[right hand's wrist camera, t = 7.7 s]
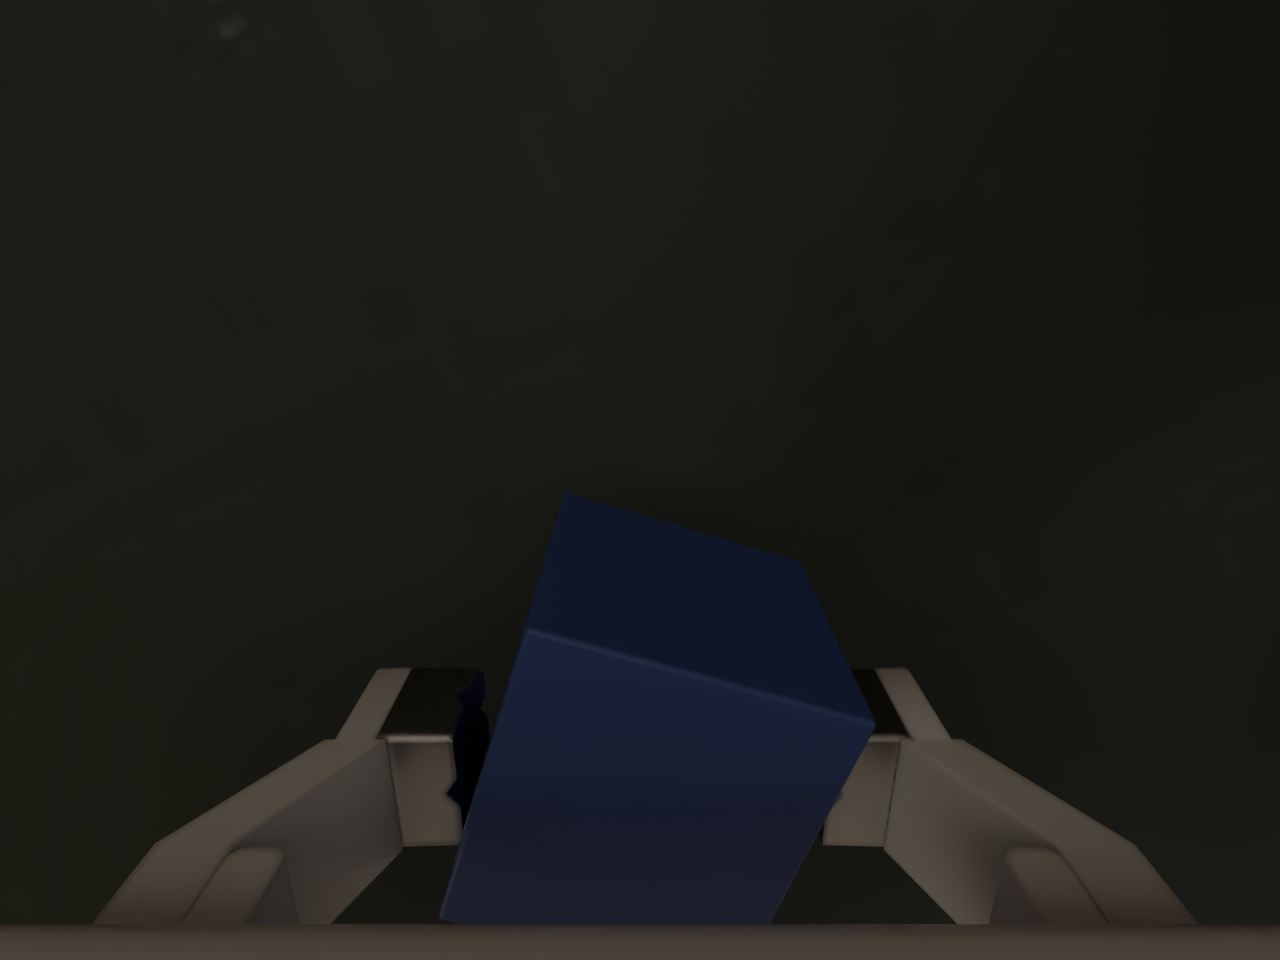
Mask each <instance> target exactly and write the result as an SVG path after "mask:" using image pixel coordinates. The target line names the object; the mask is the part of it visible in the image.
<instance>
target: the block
mask: <svg viewBox="0 0 1280 960" xmlns="http://www.w3.org/2000/svg"><path fill="white" fill-rule="evenodd" d="M874 729H875V719H874V717H873V715H872V713H871V711H870V709H869V707H868V705H867V703H866V700H865V698H864V696H863V694H862V692H861V690H860V688H859V686H858V684H857V682H856V679H855V677H854V675H853V673H852V671H851V669H850V667H849V665H848V663H847V660H846V658H845V656H844V654H843V652H842V650H841V648H840V646H839V644H838V641H837V639H836V637H835V635H834V633H833V631H832V629H831V627H830V625H829V622H828V620H827V618H826V616H825V614H824V612H823V610H822V608H821V606H820V603H819V601H818V599H817V597H816V595H815V593H814V591H813V589H812V587H811V584H810V582H809V580H808V578H807V576H806V574H805V572H804V570H803V568H802V565H801V563H800V562H798V561H796V560H793V559H790V558H786V557H783V556H779V555H776V554H773V553H769V552H766V551H762V550H759V549H756V548H752V547H749V546H746V545H742V544H739V543H735V542H732V541H729V540H725V539H722V538H719V537H715V536H712V535H708V534H705V533H702V532H698V531H695V530H691V529H688V528H685V527H681V526H678V525H675V524H671V523H668V522H664V521H661V520H658V519H654V518H651V517H647V516H644V515H641V514H637V513H634V512H631V511H627V510H624V509H620V508H617V507H614V506H610V505H607V504H603V503H600V502H597V501H593V500H590V499H587V498H583V497H580V496H576V495H573V494H570V493H565V494H564V496H563V498H562V501H561V505H560V508H559V511H558V514H557V518H556V521H555V524H554V528H553V531H552V534H551V538H550V541H549V544H548V547H547V551H546V554H545V557H544V561H543V564H542V567H541V571H540V574H539V577H538V580H537V584H536V587H535V590H534V594H533V597H532V600H531V604H530V607H529V610H528V613H527V617H526V620H525V623H524V627H523V630H522V633H521V637H520V640H519V643H518V646H517V650H516V653H515V656H514V660H513V663H512V666H511V670H510V673H509V676H508V679H507V683H506V686H505V689H504V693H503V696H502V699H501V703H500V706H499V709H498V713H497V716H496V719H495V723H494V726H493V730H492V733H491V736H490V740H489V744H488V748H487V751H486V754H485V758H484V761H483V765H482V768H481V771H480V775H479V778H478V781H477V785H476V788H475V791H474V795H473V799H472V802H471V806H470V809H469V812H468V816H467V819H466V823H465V826H464V829H463V833H462V836H461V839H460V843H459V845H458V848H457V852H456V855H455V858H454V862H453V865H452V869H451V872H450V875H449V879H448V882H447V886H446V889H445V892H444V896H443V899H442V903H441V906H440V909H439V916H440V918H441V919H443V920H447V921H451V922H456V923H460V924H770V922H771V920H772V918H773V917H774V915H775V913H776V911H777V909H778V907H779V905H780V904H781V902H782V900H783V898H784V896H785V894H786V892H787V891H788V889H789V887H790V885H791V883H792V881H793V879H794V878H795V876H796V874H797V872H798V870H799V868H800V866H801V865H802V863H803V861H804V859H805V857H806V855H807V853H808V852H809V850H810V848H811V846H812V844H813V842H814V840H815V839H816V837H817V835H818V833H819V831H820V829H821V827H822V826H823V824H824V822H825V820H826V818H827V816H828V814H829V813H830V811H831V809H832V807H833V805H834V803H835V801H836V800H837V798H838V796H839V794H840V792H841V790H842V788H843V787H844V785H845V783H846V781H847V779H848V777H849V775H850V774H851V772H852V770H853V768H854V766H855V764H856V762H857V761H858V759H859V757H860V755H861V753H862V751H863V749H864V748H865V746H866V744H867V742H868V740H869V738H870V736H871V735H872V733H873V731H874Z"/></svg>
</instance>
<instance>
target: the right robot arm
mask: <svg viewBox="0 0 1280 960" xmlns="http://www.w3.org/2000/svg"><path fill="white" fill-rule="evenodd" d="M851 671H852V673H853V675H854V677H855V679H856V682H857V684H858V686H859V688H860V690H861V692H862V694H863V696H864V698H865V700H866V703H867V705H868V707H869V709H870V711H871V713H872V715H873V717H874V719H875V729H874V731H873V733H872V735H871V736H870V738H869V740H868V742H867V744H866V746H865V748H864V749H863V751H862V753H861V755H860V757H859V759H858V761H857V762H856V764H855V766H854V768H853V770H852V772H851V774H850V775H849V777H848V779H847V781H846V783H845V785H844V787H843V788H842V790H841V792H840V794H839V796H838V798H837V800H836V801H835V803H834V805H833V807H832V809H831V811H830V813H829V814H828V816H827V818H826V820H825V822H824V824H823V826H822V827H821V829H820V831H819V835H820V838H821V842H822V845H844V846H879V847H884V850H885V851H886V852H887V853H888V854H889V855H890V856H891V857H892V858H893V859H894V860H895V861H896V862H897V863H898V864H899V865H900V866H901V867H902V868H903V869H904V870H905V871H906V872H907V874H908V875H909V876H910V877H911V878H912V879H913V880H914V881H915V882H916V883H917V884H918V885H919V886H920V887H921V888H922V889H923V890H924V891H925V892H926V893H927V894H928V895H929V896H930V897H931V898H932V899H933V900H934V901H935V902H936V903H937V904H938V905H939V906H940V907H941V908H942V909H943V910H944V911H945V912H946V913H947V914H948V915H949V916H950V917H951V918H952V919H953V920H954V921H955V922H956V923H957V924H331V923H332V922H333V921H334V919H335V918H336V917H337V916H338V915H339V914H340V913H341V912H342V911H343V910H344V909H345V908H346V907H347V906H348V905H349V904H350V903H351V902H352V901H353V900H354V899H355V898H356V897H357V896H358V895H359V894H360V893H361V892H362V891H363V890H364V889H365V888H366V887H367V886H368V885H369V884H370V883H371V882H372V881H373V880H374V879H375V878H376V877H377V876H378V875H379V874H380V873H381V872H382V871H383V870H384V869H385V868H386V867H387V865H388V864H389V863H390V862H391V861H392V860H393V859H394V858H395V857H396V856H397V855H398V854H399V853H400V852H401V851H402V847H407V846H441V845H459V843H460V839H461V836H462V833H463V829H464V826H465V823H466V819H467V816H468V812H469V809H470V806H471V802H472V799H473V795H474V789H475V788H476V785H477V781H478V778H479V775H480V771H481V768H482V765H483V761H484V758H485V754H486V751H487V748H488V744H489V724H488V717H487V716H486V714H485V713H484V712H483V711H482V710H481V705H482V702H483V699H484V696H485V693H486V691H485V683H484V675H483V673H482V671H481V669H468V668H421V667H416V668H412V667H383V668H381V669H379V670H377V671H376V672H375V674H374V675H373V677H372V679H371V680H370V682H369V684H368V685H367V687H366V689H365V690H364V692H363V694H362V695H361V697H360V699H359V700H358V702H357V704H356V705H355V707H354V709H353V710H352V712H351V714H350V715H349V717H348V719H347V720H346V722H345V724H344V725H343V727H342V729H341V730H340V732H339V734H338V735H337V737H336V739H325V740H323V741H322V742H320V743H318V744H317V745H315V746H313V747H312V748H310V749H308V750H307V751H305V752H304V753H302V754H300V755H299V756H297V757H295V758H294V759H292V760H291V761H289V762H287V763H286V764H284V765H282V766H281V767H279V768H277V769H276V770H274V771H273V772H271V773H269V774H268V775H266V776H264V777H263V778H261V779H260V780H258V781H256V782H255V783H253V784H251V785H250V786H248V787H246V788H245V789H243V790H242V791H240V792H238V793H237V794H235V795H233V796H232V797H230V798H229V799H227V800H225V801H224V802H222V803H220V804H219V805H217V806H215V807H214V808H212V809H211V810H209V811H207V812H206V813H204V814H202V815H201V816H199V817H198V818H196V819H194V820H193V821H191V822H189V823H188V824H186V825H184V826H183V827H181V828H180V829H178V830H176V831H175V832H173V833H171V834H170V835H168V836H167V837H165V838H163V839H162V840H160V841H158V842H157V843H155V844H154V845H153V847H152V848H151V849H150V850H149V852H148V853H147V854H146V855H145V857H144V858H143V859H142V860H141V862H140V863H139V864H138V866H137V867H136V868H135V869H134V871H133V872H132V873H131V874H130V876H129V877H128V878H127V879H126V881H125V882H124V883H123V884H122V886H121V887H120V888H119V890H118V891H117V892H116V893H115V895H114V896H113V897H112V898H111V900H110V901H109V902H108V903H107V905H106V906H105V907H104V908H103V910H102V911H101V912H100V914H99V915H98V916H97V917H96V919H95V920H94V921H93V922H92V924H0V960H1280V924H1198V923H1197V921H1196V920H1195V919H1194V918H1193V916H1192V915H1191V914H1190V913H1189V911H1188V910H1187V909H1186V908H1185V906H1184V905H1183V904H1182V903H1181V901H1180V900H1179V899H1178V898H1177V896H1176V895H1175V894H1174V893H1173V891H1172V890H1171V889H1170V888H1169V886H1168V885H1167V884H1166V883H1165V881H1164V880H1163V879H1162V878H1161V877H1160V875H1159V874H1158V873H1157V872H1156V870H1155V869H1154V868H1153V867H1152V865H1151V864H1150V863H1149V862H1148V860H1147V859H1146V858H1145V857H1144V855H1143V854H1142V853H1141V852H1140V850H1139V849H1138V848H1137V847H1136V845H1135V844H1133V843H1131V842H1130V841H1128V840H1126V839H1125V838H1123V837H1121V836H1120V835H1118V834H1117V833H1115V832H1113V831H1112V830H1110V829H1108V828H1107V827H1105V826H1103V825H1102V824H1100V823H1098V822H1097V821H1095V820H1094V819H1092V818H1090V817H1089V816H1087V815H1085V814H1084V813H1082V812H1080V811H1079V810H1077V809H1076V808H1074V807H1072V806H1071V805H1069V804H1067V803H1066V802H1064V801H1062V800H1061V799H1059V798H1057V797H1056V796H1054V795H1053V794H1051V793H1049V792H1048V791H1046V790H1044V789H1043V788H1041V787H1039V786H1038V785H1036V784H1034V783H1033V782H1031V781H1030V780H1028V779H1026V778H1025V777H1023V776H1021V775H1020V774H1018V773H1016V772H1015V771H1013V770H1011V769H1010V768H1008V767H1007V766H1005V765H1003V764H1002V763H1000V762H998V761H997V760H995V759H993V758H992V757H990V756H988V755H987V754H985V753H984V752H982V751H980V750H979V749H977V748H975V747H974V746H972V745H970V744H969V743H967V742H966V741H964V740H962V739H951V737H950V736H949V734H948V732H947V731H946V729H945V728H944V726H943V724H942V723H941V721H940V720H939V718H938V716H937V715H936V713H935V712H934V710H933V708H932V707H931V705H930V703H929V702H928V700H927V699H926V697H925V695H924V694H923V692H922V691H921V689H920V687H919V686H918V684H917V683H916V681H915V679H914V678H913V676H912V675H911V673H910V671H909V670H908V669H906V668H904V667H883V668H870V669H851Z"/></svg>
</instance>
